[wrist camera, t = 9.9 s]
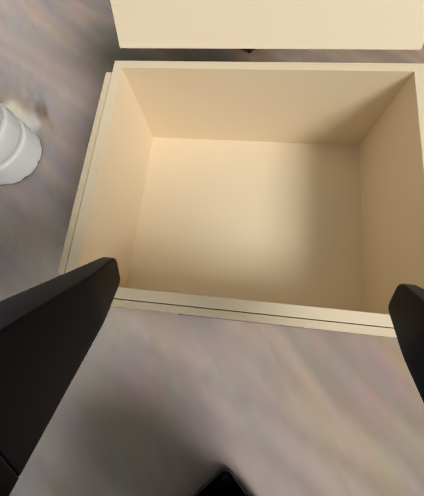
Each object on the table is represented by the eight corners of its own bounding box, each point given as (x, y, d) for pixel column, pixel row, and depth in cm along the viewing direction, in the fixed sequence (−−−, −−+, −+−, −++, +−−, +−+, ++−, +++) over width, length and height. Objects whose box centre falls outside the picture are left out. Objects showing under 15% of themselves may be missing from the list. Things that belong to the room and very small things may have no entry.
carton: (375, 334, 20) (463, 347, 12) (113, 306, 22) (50, 301, 15) (368, 144, 24) (431, 63, 16) (145, 135, 26) (108, 60, 18)
